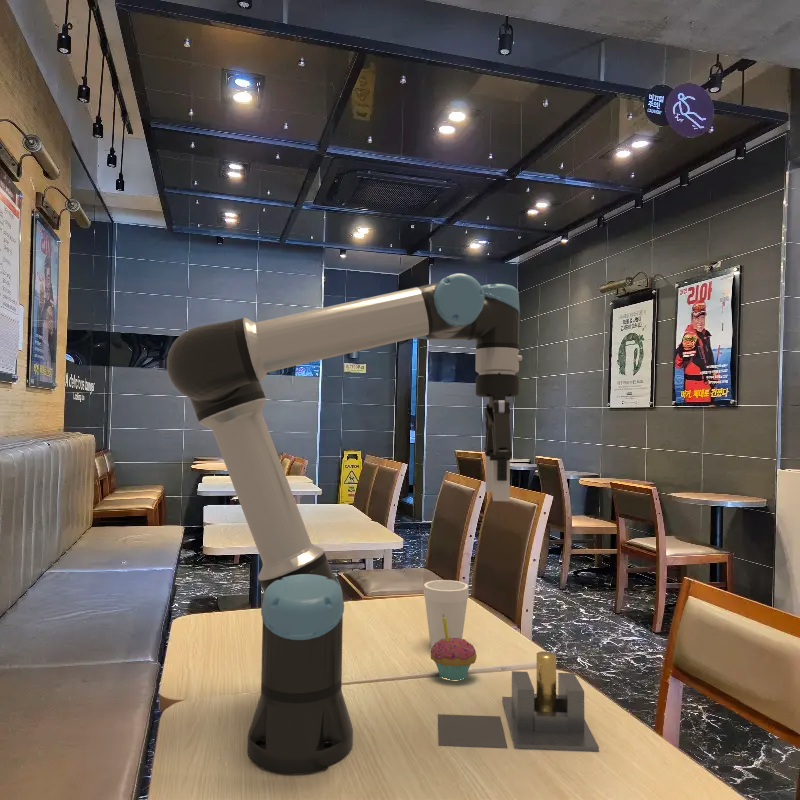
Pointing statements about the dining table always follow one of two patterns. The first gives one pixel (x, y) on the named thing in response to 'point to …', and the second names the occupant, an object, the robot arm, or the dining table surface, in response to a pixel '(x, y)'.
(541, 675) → the peg
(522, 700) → the bracket
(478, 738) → the mat
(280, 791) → the dining table surface
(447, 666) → the cupcake
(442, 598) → the foam cup
